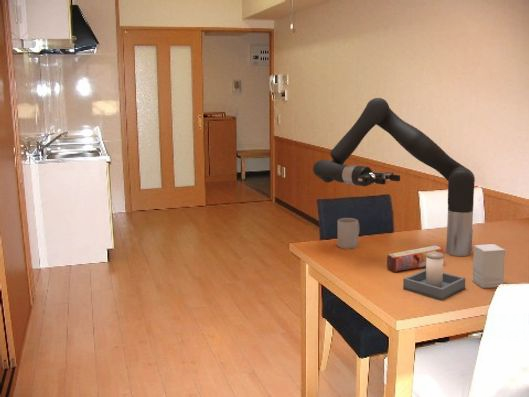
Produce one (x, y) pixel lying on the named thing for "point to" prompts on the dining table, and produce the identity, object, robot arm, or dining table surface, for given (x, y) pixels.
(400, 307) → the dining table surface
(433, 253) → the canister
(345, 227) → the mug
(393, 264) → the snack package
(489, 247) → the supplement box
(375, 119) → the robot arm
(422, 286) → the tray
